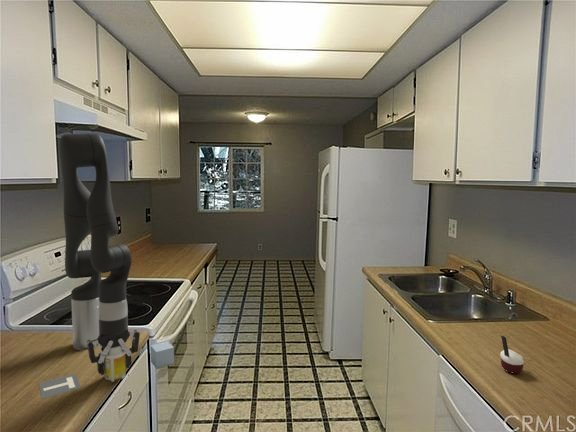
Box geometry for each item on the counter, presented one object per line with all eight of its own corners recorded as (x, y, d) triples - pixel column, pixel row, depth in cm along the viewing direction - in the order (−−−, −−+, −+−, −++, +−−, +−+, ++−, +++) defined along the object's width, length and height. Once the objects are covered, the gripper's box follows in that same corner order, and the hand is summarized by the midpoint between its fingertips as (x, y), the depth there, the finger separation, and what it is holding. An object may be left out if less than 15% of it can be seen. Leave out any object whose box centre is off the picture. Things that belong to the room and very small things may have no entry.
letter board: (39, 385, 105) (39, 383, 105) (75, 376, 111) (75, 373, 111) (42, 401, 98) (41, 398, 98) (81, 390, 103) (80, 387, 103)
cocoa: (518, 367, 123) (522, 332, 122) (530, 377, 117) (535, 339, 116) (489, 365, 123) (493, 329, 122) (499, 375, 117) (504, 337, 116)
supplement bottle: (128, 373, 113) (127, 340, 112) (121, 384, 107) (121, 349, 106) (108, 374, 112) (107, 341, 111) (101, 384, 107) (100, 350, 106)
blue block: (150, 361, 120) (150, 345, 120) (167, 357, 124) (167, 341, 123) (156, 369, 116) (156, 352, 115) (174, 364, 119) (173, 347, 119)
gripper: (135, 306, 115) (136, 358, 117) (82, 315, 106) (84, 372, 108) (143, 313, 109) (144, 368, 111) (87, 324, 100) (89, 384, 102)
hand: (114, 370), depth 109 cm, fingers open, 6 cm apart
